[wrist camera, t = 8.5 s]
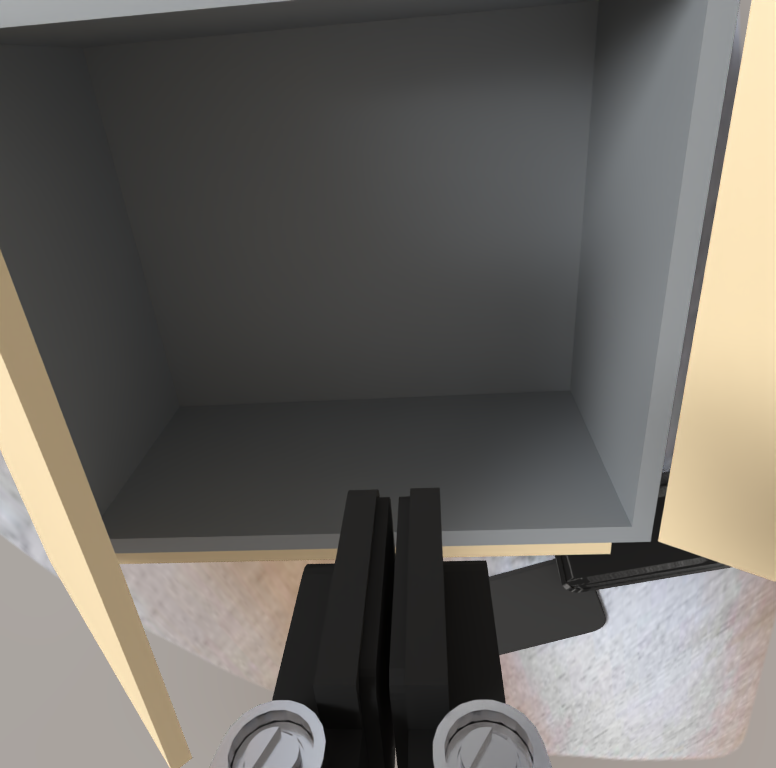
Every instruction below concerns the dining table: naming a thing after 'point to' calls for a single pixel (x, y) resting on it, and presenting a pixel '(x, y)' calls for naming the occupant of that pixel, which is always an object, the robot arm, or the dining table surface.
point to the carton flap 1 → (74, 522)
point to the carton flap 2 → (735, 343)
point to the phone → (540, 608)
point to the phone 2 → (632, 560)
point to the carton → (361, 259)
